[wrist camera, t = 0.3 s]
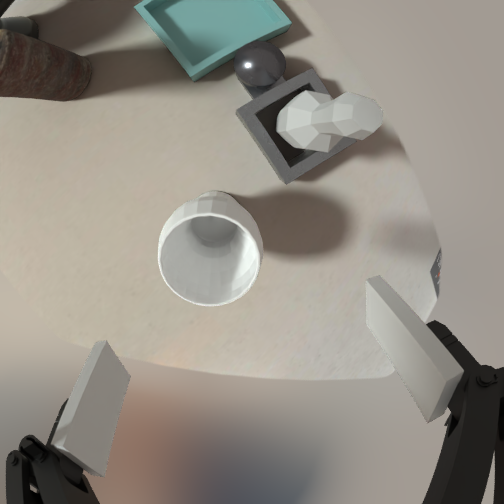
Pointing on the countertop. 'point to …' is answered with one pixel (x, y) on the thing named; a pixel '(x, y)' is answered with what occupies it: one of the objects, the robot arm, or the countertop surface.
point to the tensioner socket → (268, 92)
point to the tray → (211, 28)
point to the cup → (210, 250)
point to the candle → (40, 69)
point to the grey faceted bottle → (327, 119)
